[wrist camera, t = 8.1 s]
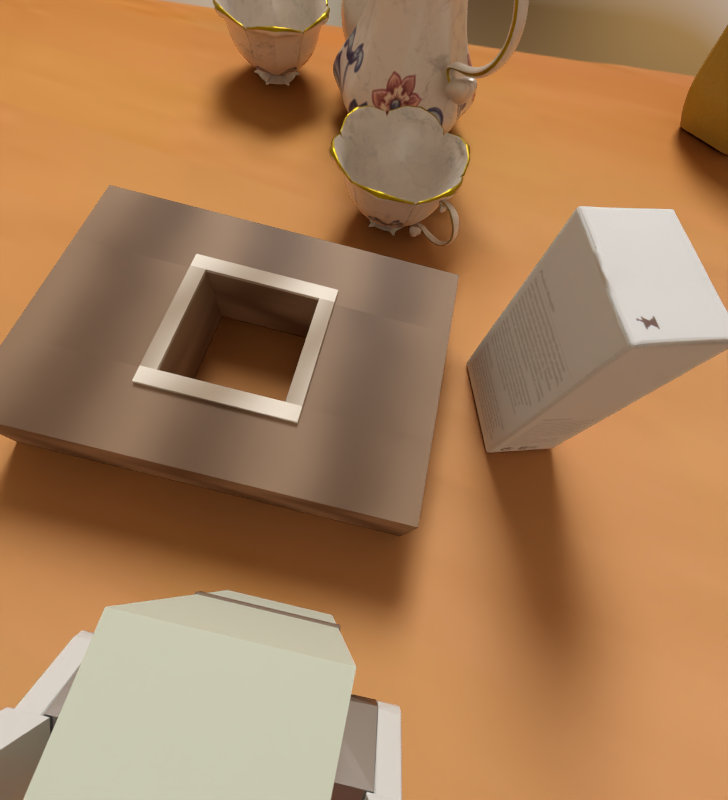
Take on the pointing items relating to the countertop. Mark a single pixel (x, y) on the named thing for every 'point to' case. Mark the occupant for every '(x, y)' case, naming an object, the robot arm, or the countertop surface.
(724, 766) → the countertop surface
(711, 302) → the skincare box
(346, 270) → the socket board
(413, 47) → the chinaware
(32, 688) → the robot arm
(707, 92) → the flower pot
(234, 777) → the sage peg
